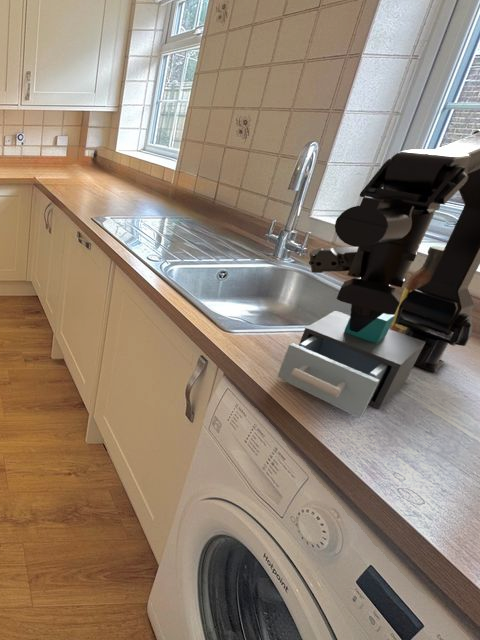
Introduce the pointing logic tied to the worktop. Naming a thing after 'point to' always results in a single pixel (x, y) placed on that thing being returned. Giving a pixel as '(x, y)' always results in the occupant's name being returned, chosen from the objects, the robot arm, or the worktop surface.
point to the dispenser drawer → (334, 373)
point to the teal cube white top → (374, 329)
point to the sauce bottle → (419, 280)
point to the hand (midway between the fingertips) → (353, 330)
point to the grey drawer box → (372, 350)
